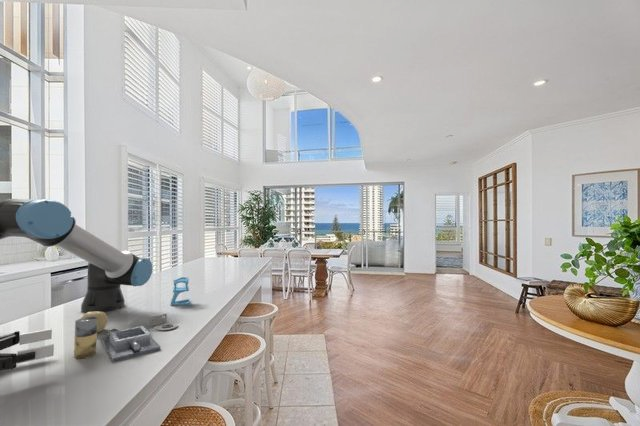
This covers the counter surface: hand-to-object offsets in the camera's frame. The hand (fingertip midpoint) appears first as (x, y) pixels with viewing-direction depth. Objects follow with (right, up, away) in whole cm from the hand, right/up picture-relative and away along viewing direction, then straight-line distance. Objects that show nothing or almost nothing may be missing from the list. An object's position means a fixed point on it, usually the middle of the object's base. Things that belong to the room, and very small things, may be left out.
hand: (52, 341), depth 81 cm
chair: (+8, -7, +57) cm, 58 cm away
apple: (-5, -6, +22) cm, 23 cm away
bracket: (+15, -7, +29) cm, 33 cm away
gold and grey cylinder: (+5, -6, +5) cm, 9 cm away
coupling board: (+13, -6, +13) cm, 19 cm away
